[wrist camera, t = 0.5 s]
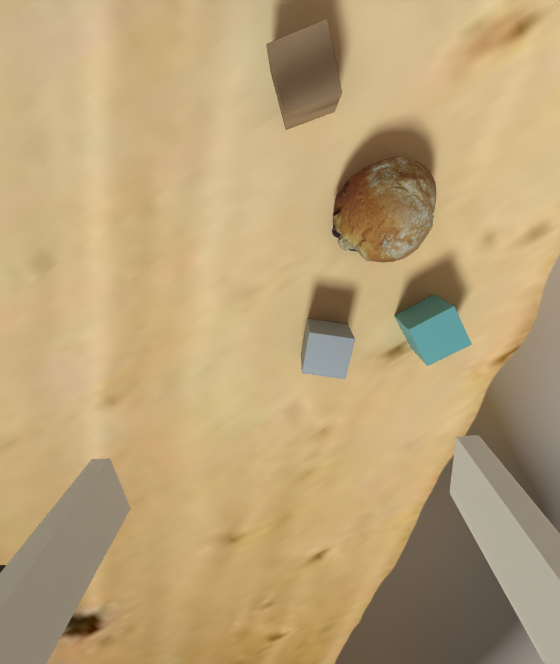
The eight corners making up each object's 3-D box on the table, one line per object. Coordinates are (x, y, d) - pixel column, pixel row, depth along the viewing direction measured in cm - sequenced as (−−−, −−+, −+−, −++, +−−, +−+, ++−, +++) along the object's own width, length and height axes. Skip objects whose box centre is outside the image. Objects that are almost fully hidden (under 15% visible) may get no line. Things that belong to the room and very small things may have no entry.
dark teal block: (394, 315, 37) (408, 329, 32) (433, 294, 36) (454, 306, 31) (411, 347, 39) (427, 366, 34) (449, 328, 37) (471, 344, 33)
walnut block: (270, 71, 29) (266, 44, 25) (321, 51, 29) (327, 18, 24) (285, 130, 31) (284, 114, 26) (334, 112, 30) (342, 92, 25)
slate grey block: (307, 318, 38) (309, 332, 33) (347, 323, 38) (355, 338, 33) (300, 354, 40) (301, 373, 35) (339, 360, 40) (345, 379, 35)
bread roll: (399, 251, 38) (457, 253, 31) (328, 269, 35) (375, 276, 28) (396, 162, 35) (460, 142, 28) (317, 173, 31) (367, 153, 24)
